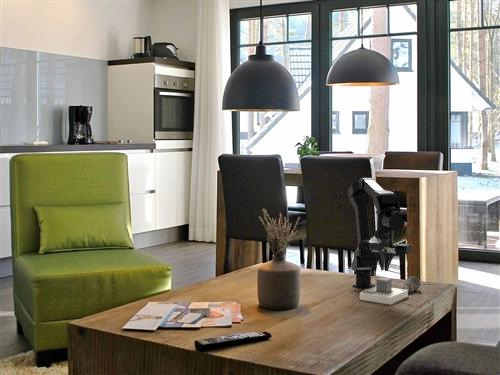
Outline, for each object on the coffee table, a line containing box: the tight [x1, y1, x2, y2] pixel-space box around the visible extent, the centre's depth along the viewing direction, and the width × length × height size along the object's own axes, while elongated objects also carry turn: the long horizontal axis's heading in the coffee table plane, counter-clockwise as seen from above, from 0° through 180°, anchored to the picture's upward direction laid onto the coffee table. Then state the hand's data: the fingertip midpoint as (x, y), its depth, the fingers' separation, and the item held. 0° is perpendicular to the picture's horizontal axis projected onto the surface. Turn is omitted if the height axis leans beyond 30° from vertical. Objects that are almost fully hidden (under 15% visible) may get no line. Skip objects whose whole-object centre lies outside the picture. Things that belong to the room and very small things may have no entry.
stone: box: [400, 275, 421, 293], centre depth 262 cm, size 10×5×8 cm
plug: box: [375, 277, 393, 294], centre depth 251 cm, size 4×4×7 cm
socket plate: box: [359, 285, 409, 305], centre depth 251 cm, size 14×12×3 cm
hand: (384, 270), depth 250 cm, fingers closed
